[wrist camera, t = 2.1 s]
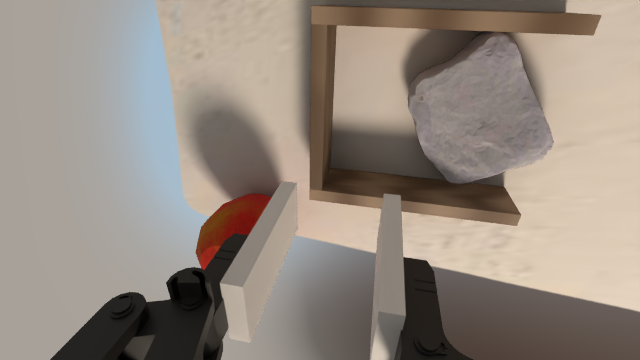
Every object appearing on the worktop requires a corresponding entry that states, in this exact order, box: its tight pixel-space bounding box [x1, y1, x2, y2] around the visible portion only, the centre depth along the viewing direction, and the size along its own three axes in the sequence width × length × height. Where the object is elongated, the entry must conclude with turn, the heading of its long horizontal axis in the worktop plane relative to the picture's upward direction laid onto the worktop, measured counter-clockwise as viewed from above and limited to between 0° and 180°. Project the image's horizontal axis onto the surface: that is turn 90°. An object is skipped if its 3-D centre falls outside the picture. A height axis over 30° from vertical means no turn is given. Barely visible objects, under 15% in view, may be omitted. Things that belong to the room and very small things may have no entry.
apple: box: [196, 194, 271, 270], centre depth 35 cm, size 9×9×12 cm
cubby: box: [310, 5, 601, 226], centre depth 29 cm, size 19×17×5 cm
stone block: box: [408, 31, 554, 184], centre depth 29 cm, size 12×5×10 cm
